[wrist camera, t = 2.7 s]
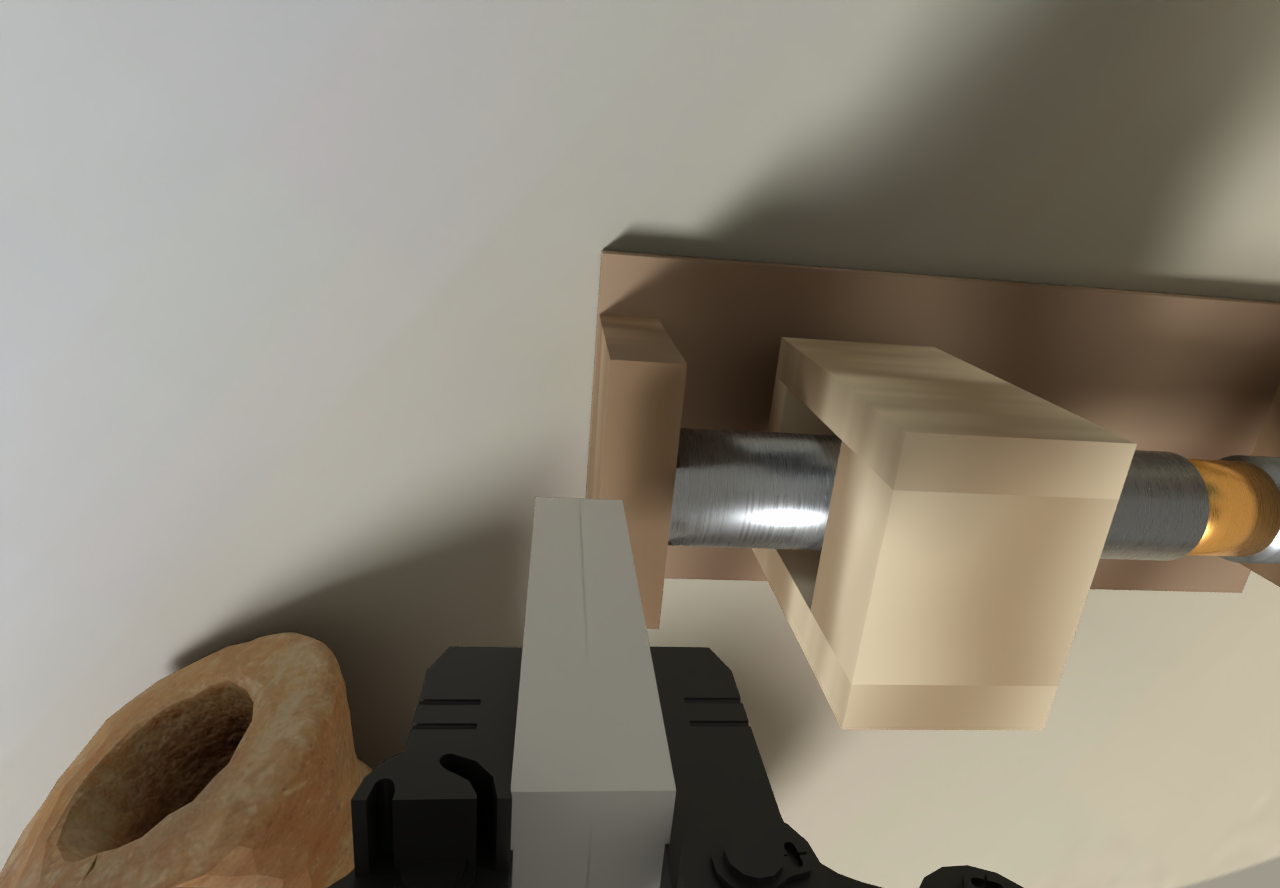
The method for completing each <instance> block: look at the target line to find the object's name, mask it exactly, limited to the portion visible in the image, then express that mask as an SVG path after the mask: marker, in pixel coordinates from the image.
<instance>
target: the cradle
mask: <svg viewBox="0 0 1280 888" xmlns="http://www.w3.org/2000/svg"><path fill="white" fill-rule="evenodd" d="M782 337H788V338H804V339H819V340H835V341H850V342H866V343H881V344H896V345H912V346H927V347H935V348H937V349H939V350H942V351H944V352H946V353H948V354H950V355H952V356H954V357H956V358H958V359H960V360H962V361H965V362H967V363H969V364H971V365H973V366H975V367H977V368H979V369H981V370H983V371H986V372H988V373H990V374H992V375H994V376H996V377H998V378H1000V379H1002V380H1004V381H1007V382H1009V383H1011V384H1013V385H1015V386H1017V387H1019V388H1021V389H1023V390H1025V391H1027V392H1030V393H1032V394H1034V395H1036V396H1038V397H1040V398H1042V399H1044V400H1046V401H1048V402H1051V403H1053V404H1055V405H1057V406H1059V407H1061V408H1063V409H1065V410H1067V411H1069V412H1071V413H1074V414H1076V415H1078V416H1080V417H1082V418H1084V419H1086V420H1088V421H1090V422H1092V423H1095V424H1097V425H1099V426H1101V427H1103V428H1105V429H1107V430H1109V431H1111V432H1113V433H1116V434H1118V435H1120V436H1122V437H1124V438H1126V439H1128V440H1130V441H1132V442H1134V443H1136V444H1137V446H1136V449H1135V450H1145V451H1165V452H1172V453H1176V454H1178V455H1181V456H1182V457H1184V458H1186V459H1201V460H1219V459H1222V458H1224V457H1228V456H1233V455H1247V456H1267V457H1280V302H1271V301H1258V300H1244V299H1231V298H1218V297H1205V296H1192V295H1179V294H1166V293H1153V292H1140V291H1127V290H1114V289H1101V288H1088V287H1075V286H1062V285H1049V284H1036V283H1023V282H1010V281H997V280H984V279H971V278H958V277H945V276H932V275H919V274H906V273H892V272H879V271H866V270H853V269H840V268H827V267H814V266H801V265H788V264H775V263H762V262H749V261H736V260H723V259H710V258H697V257H684V256H671V255H658V254H645V253H632V252H619V251H606V250H602V252H601V267H600V283H599V299H598V314H597V330H596V345H595V361H594V376H593V392H592V407H591V423H590V438H589V454H588V469H587V485H586V499H605V500H622V501H623V506H624V512H625V517H626V522H627V528H628V533H629V539H630V544H631V549H632V555H633V560H634V565H635V571H636V576H637V582H638V587H639V592H640V598H641V603H642V609H643V614H644V619H645V625H646V628H649V629H659V623H660V614H661V604H662V595H663V586H664V578H672V579H712V580H752V581H768V580H767V578H766V576H765V574H764V572H763V570H762V568H761V566H760V564H759V562H758V560H757V558H756V556H755V554H754V552H753V550H752V548H730V547H697V546H668V539H669V530H670V520H671V511H672V502H673V492H674V483H675V474H676V465H677V455H678V446H679V437H680V428H698V429H718V430H739V431H759V432H768V425H769V418H770V412H771V405H772V398H773V392H774V385H775V378H776V371H777V365H778V358H779V351H780V345H781V338H782ZM1251 570H1252V571H1253V572H1255V573H1257V574H1259V575H1260V576H1262V577H1264V578H1265V579H1267V580H1269V581H1271V582H1272V583H1274V584H1276V585H1277V586H1279V587H1280V564H1259V563H1236V562H1231V561H1228V560H1225V559H1223V558H1221V557H1219V556H1205V555H1185V556H1183V557H1181V558H1179V559H1175V560H1170V561H1160V560H1127V559H1099V562H1098V565H1097V568H1096V571H1095V574H1094V577H1093V581H1092V584H1091V587H1090V589H1112V590H1152V591H1192V592H1232V593H1242V591H1243V589H1244V586H1245V584H1246V581H1247V579H1248V576H1249V574H1250V571H1251Z"/></svg>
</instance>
